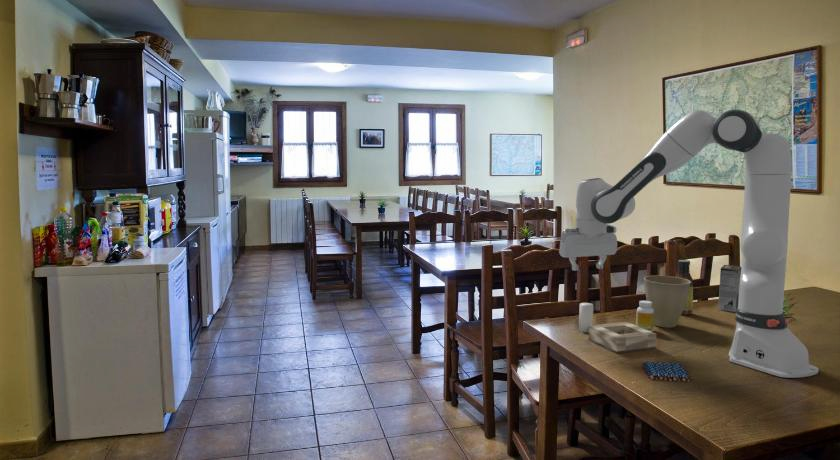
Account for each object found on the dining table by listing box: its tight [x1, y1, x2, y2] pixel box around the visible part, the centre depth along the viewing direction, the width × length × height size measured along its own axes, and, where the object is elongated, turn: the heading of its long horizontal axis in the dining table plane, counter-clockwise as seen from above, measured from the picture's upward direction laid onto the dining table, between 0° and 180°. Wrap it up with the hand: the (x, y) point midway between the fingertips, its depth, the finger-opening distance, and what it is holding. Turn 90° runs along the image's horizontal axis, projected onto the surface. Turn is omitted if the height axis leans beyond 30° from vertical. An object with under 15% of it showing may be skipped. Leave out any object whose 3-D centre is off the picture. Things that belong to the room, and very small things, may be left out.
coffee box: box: [717, 264, 742, 313], centre depth 226 cm, size 9×6×16 cm
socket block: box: [588, 321, 657, 354], centre depth 183 cm, size 14×14×5 cm
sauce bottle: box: [675, 259, 694, 316], centre depth 219 cm, size 6×6×20 cm
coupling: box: [577, 302, 594, 334], centre depth 198 cm, size 7×4×9 cm, turn 19°
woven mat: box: [642, 361, 692, 382], centre depth 159 cm, size 10×11×2 cm
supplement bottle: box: [635, 300, 654, 332], centre depth 198 cm, size 5×5×10 cm
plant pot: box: [643, 275, 691, 328], centre depth 204 cm, size 15×15×16 cm
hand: (587, 269), depth 196 cm, fingers open, 8 cm apart
